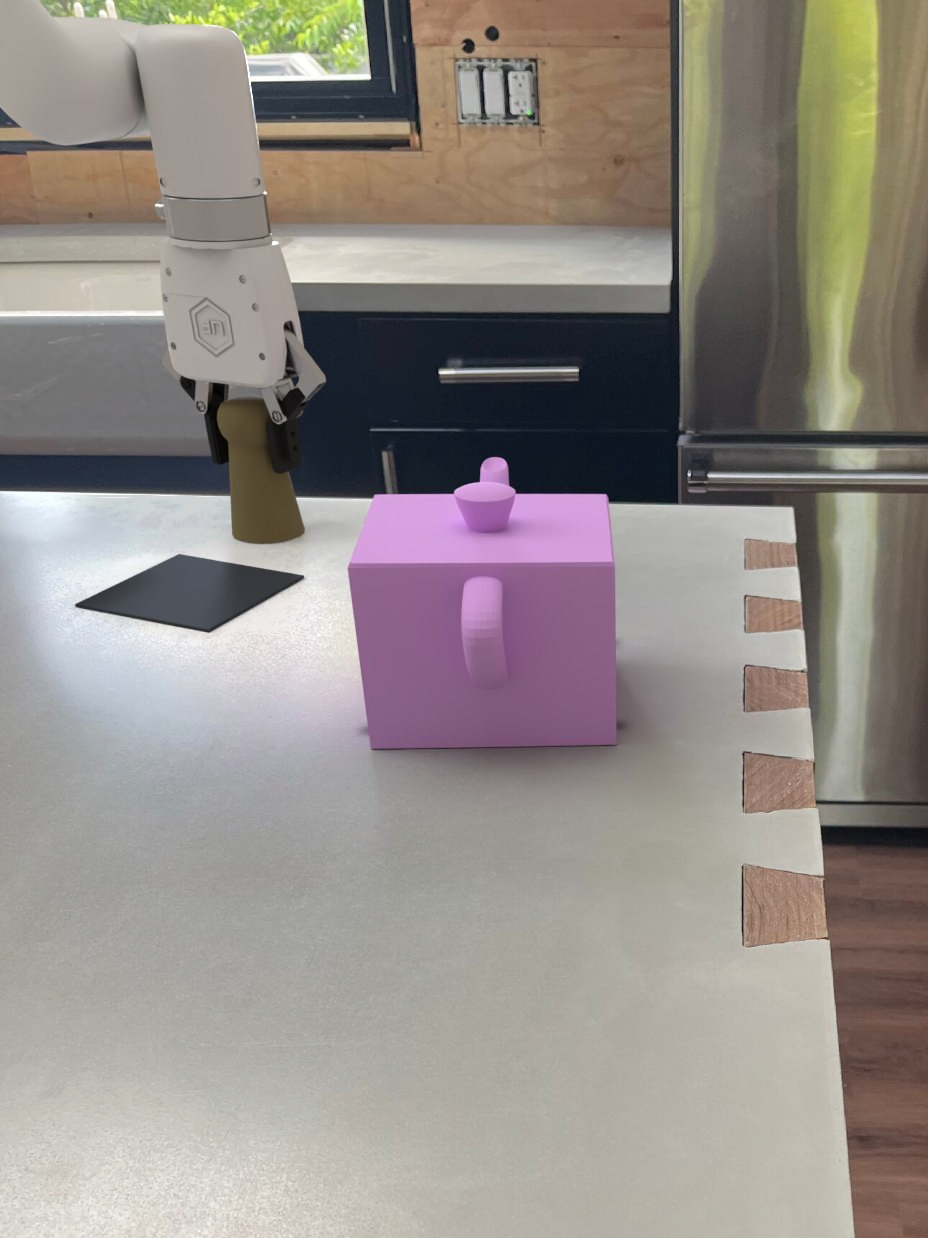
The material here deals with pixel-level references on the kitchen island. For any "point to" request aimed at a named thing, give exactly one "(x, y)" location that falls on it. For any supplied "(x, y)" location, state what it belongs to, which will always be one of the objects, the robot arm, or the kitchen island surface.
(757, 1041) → the kitchen island surface
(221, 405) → the cork
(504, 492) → the teapot
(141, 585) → the mat
